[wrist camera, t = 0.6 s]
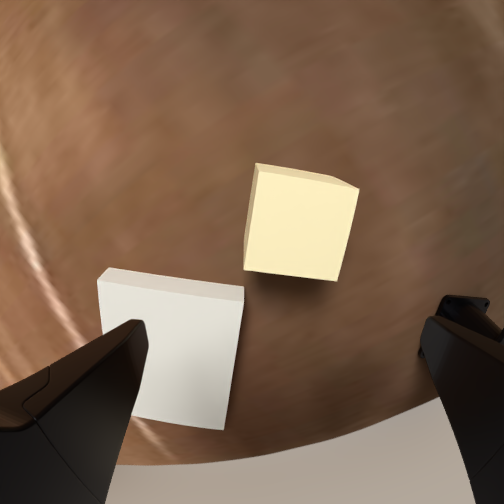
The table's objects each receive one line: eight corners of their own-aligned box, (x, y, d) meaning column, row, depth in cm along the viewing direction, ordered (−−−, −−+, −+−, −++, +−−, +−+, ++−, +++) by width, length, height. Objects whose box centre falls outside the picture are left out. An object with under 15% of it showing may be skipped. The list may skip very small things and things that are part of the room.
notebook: (244, 284, 22) (243, 302, 20) (224, 410, 27) (223, 430, 25) (110, 265, 21) (97, 280, 19) (124, 393, 26) (117, 411, 24)
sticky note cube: (332, 176, 19) (359, 189, 14) (317, 248, 21) (336, 281, 16) (255, 162, 19) (258, 171, 14) (244, 238, 20) (243, 269, 16)
